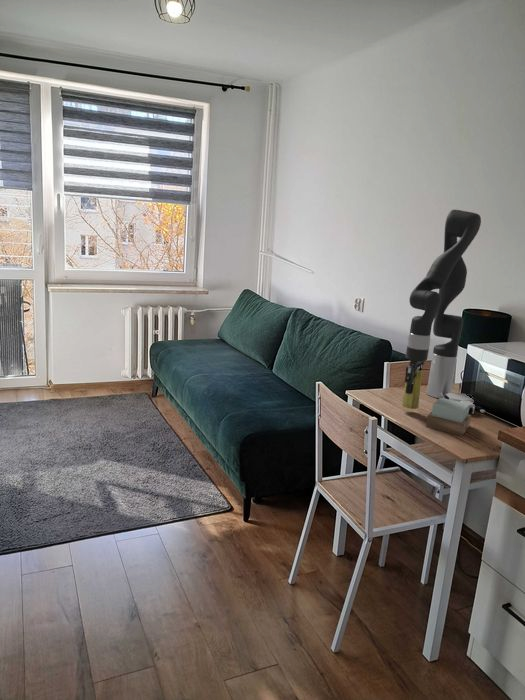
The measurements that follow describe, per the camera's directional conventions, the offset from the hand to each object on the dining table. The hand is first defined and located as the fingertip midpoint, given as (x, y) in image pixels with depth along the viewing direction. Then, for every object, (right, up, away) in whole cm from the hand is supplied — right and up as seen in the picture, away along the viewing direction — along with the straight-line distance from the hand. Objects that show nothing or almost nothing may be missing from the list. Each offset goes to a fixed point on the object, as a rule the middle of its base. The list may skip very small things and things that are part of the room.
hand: (411, 391), depth 200 cm
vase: (0, -6, +1) cm, 6 cm away
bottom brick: (+10, -11, -9) cm, 18 cm away
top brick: (+10, -7, -10) cm, 16 cm away
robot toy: (+22, -8, +11) cm, 26 cm away
